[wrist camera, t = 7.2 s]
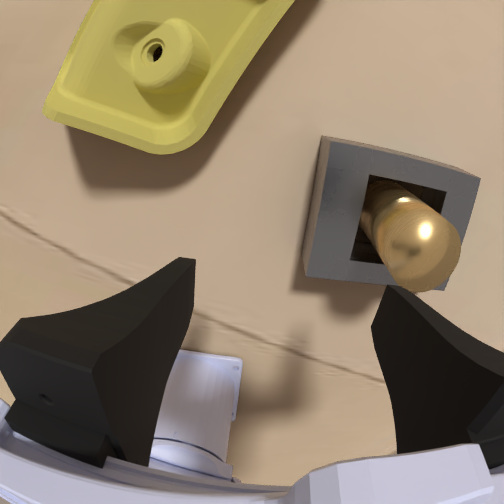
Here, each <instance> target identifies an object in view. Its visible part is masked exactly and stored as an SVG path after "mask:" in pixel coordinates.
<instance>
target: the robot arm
mask: <svg viewBox="0 0 504 504" xmlns="http://www.w3.org/2000/svg"><path fill="white" fill-rule="evenodd" d="M195 266H196V259H190V258H183V257H179V258H177V259H175V260H174V261H172V262H171V263H169V264H168V265H166V266H165V267H163V268H162V269H160V270H159V271H157V272H156V273H154V274H153V275H151V276H149V277H148V278H146V279H144V280H143V281H141V282H139V283H137V284H136V285H134V286H132V287H130V288H129V289H127V290H125V291H123V292H121V293H118V294H116V295H114V296H112V297H109V298H107V299H104V300H102V301H99V302H96V303H93V304H90V305H87V306H84V307H81V308H77V309H74V310H70V311H65V312H61V313H56V314H51V315H44V316H36V317H28V318H21V319H20V320H19V321H18V322H17V323H16V324H15V325H14V327H13V328H12V329H11V330H10V331H9V332H8V334H7V335H6V336H5V337H4V338H3V339H2V341H1V342H0V371H1V373H2V375H3V377H4V379H5V380H6V382H7V384H8V386H9V388H10V390H11V392H12V393H13V395H14V397H15V399H16V400H15V401H14V403H13V405H12V406H11V407H10V405H8V404H7V403H6V402H5V401H4V400H2V399H1V398H0V497H2V498H3V499H5V500H7V501H8V502H10V503H11V504H504V353H503V352H501V351H499V350H497V349H495V348H493V347H491V346H489V345H487V344H485V343H483V342H481V341H479V340H477V339H476V338H474V337H472V336H471V335H469V334H468V333H466V332H464V331H463V330H461V329H460V328H458V327H457V326H455V325H454V324H453V323H451V322H450V321H448V320H447V319H446V318H444V317H443V316H442V315H440V314H439V313H438V312H436V311H435V310H434V309H433V308H431V307H430V306H429V305H427V304H426V303H425V302H423V301H422V300H421V299H420V298H418V297H417V296H416V295H414V294H413V293H411V292H410V291H408V290H407V289H405V288H403V287H402V286H396V285H388V284H387V286H386V289H385V292H384V294H383V297H382V300H381V302H380V305H379V308H378V310H377V313H376V315H375V318H374V320H373V323H372V325H371V330H372V337H373V342H374V347H375V351H376V354H377V357H378V360H379V363H380V367H381V370H382V373H383V376H384V379H385V382H386V385H387V388H388V391H389V395H390V399H391V403H392V409H393V416H394V422H395V431H396V442H397V454H394V455H384V456H372V457H362V458H356V459H350V460H343V461H337V462H334V463H331V464H328V465H325V466H322V467H319V468H316V469H313V470H312V471H310V472H309V473H308V474H306V475H305V476H303V477H302V478H301V479H299V480H298V481H297V482H296V483H295V484H294V485H293V486H271V485H255V484H244V483H241V481H240V480H239V479H237V478H233V477H232V470H233V466H232V465H229V464H226V459H227V450H228V442H229V434H230V426H231V421H234V420H235V418H236V411H237V403H238V396H239V388H240V381H241V373H242V366H243V361H242V359H240V358H237V357H229V356H221V355H214V354H207V353H200V352H194V351H187V350H181V349H180V347H181V345H182V342H183V340H184V337H185V335H186V332H187V330H188V327H189V323H190V319H191V315H192V311H193V307H194V288H195ZM235 366H237V367H235Z"/></svg>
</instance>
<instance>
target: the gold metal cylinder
mask: <svg viewBox="0 0 504 504" xmlns="http://www.w3.org/2000/svg"><path fill="white" fill-rule="evenodd" d="M359 225H360V227H361V228H362V230H363V231H364V233H365V234H366V236H367V237H368V239H369V240H370V242H371V244H372V245H373V247H374V248H375V250H376V251H377V253H378V254H379V256H380V258H381V259H382V261H383V262H384V264H385V266H386V267H387V269H388V270H389V272H390V274H391V275H392V277H393V279H394V280H395V282H396V283H397V284H398V285H399V286H402V287H403V288H405V289H407V290H408V291H410V292H425V291H429V290H432V289H434V288H436V287H437V286H439V285H440V284H442V283H443V282H444V281H445V280H446V279H447V278H448V277H449V276H450V275H451V274H452V272H453V271H454V269H455V267H456V265H457V263H458V260H459V257H460V252H461V241H460V237H459V234H458V232H457V230H456V228H455V227H454V226H453V225H452V224H451V223H450V222H449V221H447V220H446V219H445V218H444V217H442V216H441V215H440V214H439V213H437V212H436V211H435V210H433V209H432V208H431V207H429V206H428V205H427V204H425V203H424V202H423V201H421V200H420V199H419V198H417V197H416V196H415V195H413V194H412V193H411V192H409V191H408V190H406V189H405V188H404V187H402V186H401V185H399V184H398V183H396V182H393V181H389V180H381V181H377V182H374V183H372V184H370V185H369V186H368V187H367V188H366V193H365V198H364V202H363V207H362V211H361V216H360V220H359Z"/></svg>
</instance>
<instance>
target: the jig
mask: <svg viewBox="0 0 504 504" xmlns="http://www.w3.org/2000/svg"><path fill="white" fill-rule="evenodd" d="M369 174H370V175H375V176H380V177H385V178H390V179H395V180H399V181H404V182H408V183H413V184H417V185H421V186H424V189H423V194H422V198H421V201H423V202H424V203H425V204H427V205H428V206H429V207H431V208H432V209H433V210H435V211H436V212H437V213H439V214H440V215H441V216H442V217H444V218H445V219H446V220H447V221H449V222H450V223H451V224H452V225H453V226H454V227H455V228H456V230H457V232H458V234H459V237H460V241H461V245H462V242H463V239H464V236H465V233H466V230H467V226H468V223H469V220H470V216H471V213H472V210H473V206H474V202H475V199H476V195H477V191H478V187H479V183H480V179H481V178H479V177H477V176H475V175H473V174H470V173H468V172H466V171H464V170H462V169H459V168H457V167H454V166H451V165H447V164H444V163H440V162H437V161H433V160H430V159H426V158H423V157H419V156H415V155H411V154H407V153H403V152H399V151H395V150H391V149H387V148H382V147H378V146H373V145H369V144H364V143H359V142H354V141H349V140H344V139H338V138H333V137H327V136H322V138H321V144H320V151H319V157H318V164H317V170H316V176H315V182H314V188H313V194H312V200H311V206H310V211H309V217H308V222H307V228H306V233H305V239H304V244H303V249H302V259H303V265H304V270H305V275H306V277H314V278H323V279H332V280H341V281H351V282H360V283H370V284H380V285H387V284H388V285H396V286H399V285H398V284H397V283H396V282H395V280H394V279H393V277H392V275H391V274H390V272H389V270H388V269H387V267H386V266H385V264H384V262H383V261H382V259H381V258H380V256H379V254H378V253H377V251H376V250H375V248H374V247H373V245H372V244H367V243H360V242H354V241H355V237H356V233H357V228H358V224H359V220H360V216H361V211H362V207H363V202H364V198H365V193H366V188H367V183H368V179H369ZM449 277H450V276H449ZM449 277H448V278H447V279H446V280H445V281H444V282H443V283H442V284H440V285H439V286H437V287H436V288H434V289H432V290H442V291H444V290H445V287H446V285H447V282H448V280H449Z"/></svg>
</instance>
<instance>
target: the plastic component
mask: <svg viewBox="0 0 504 504" xmlns="http://www.w3.org/2000/svg"><path fill="white" fill-rule="evenodd" d="M294 1H295V0H94V2H93V3H92V5H91V7H90V9H89V11H88V13H87V14H86V16H85V18H84V20H83V22H82V24H81V26H80V28H79V30H78V32H77V34H76V36H75V38H74V40H73V43H72V45H71V47H70V49H69V51H68V54H67V56H66V58H65V61H64V63H63V65H62V67H61V70H60V72H59V74H58V76H57V79H56V81H55V83H54V85H53V87H52V89H51V91H50V93H49V94H48V96H47V98H46V101H45V103H44V106H43V109H42V113H43V114H44V115H45V116H46V117H47V118H49V119H51V120H52V121H55V122H58V123H62V124H65V125H68V126H71V127H74V128H77V129H81V130H84V131H87V132H90V133H93V134H96V135H99V136H102V137H105V138H108V139H111V140H114V141H117V142H120V143H122V144H125V145H128V146H131V147H134V148H137V149H140V150H142V151H145V152H148V153H153V154H159V155H162V154H173V153H176V152H179V151H183V150H185V149H186V148H188V147H190V146H192V145H193V144H194V143H196V142H197V141H198V140H199V139H200V138H201V137H202V136H203V135H204V134H205V133H206V131H207V129H208V128H209V126H210V124H211V123H212V121H213V119H214V118H215V116H216V114H217V113H218V111H219V109H220V108H221V106H222V105H223V103H224V101H225V100H226V98H227V97H228V95H229V93H230V92H231V90H232V89H233V87H234V86H235V84H236V83H237V81H238V79H239V78H240V76H241V75H242V73H243V72H244V70H245V69H246V67H247V66H248V64H249V63H250V61H251V60H252V59H253V57H254V56H255V54H256V53H257V51H258V50H259V48H260V47H261V45H262V44H263V43H264V41H265V40H266V38H267V37H268V36H269V34H270V33H271V31H272V30H273V29H274V27H275V26H276V25H277V23H278V22H279V21H280V19H281V18H282V17H283V15H284V14H285V13H286V11H287V10H288V9H289V7H290V6H291V5H292V3H293V2H294ZM160 46H162V48H163V52H162V56H161V57H160V58H159V59H158V60H157V61H155V62H154V61H153V54H154V51H155V50H156V49H157V48H158V47H160Z"/></svg>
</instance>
